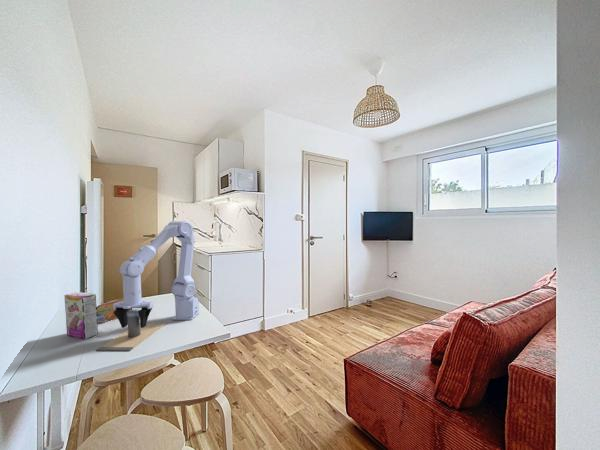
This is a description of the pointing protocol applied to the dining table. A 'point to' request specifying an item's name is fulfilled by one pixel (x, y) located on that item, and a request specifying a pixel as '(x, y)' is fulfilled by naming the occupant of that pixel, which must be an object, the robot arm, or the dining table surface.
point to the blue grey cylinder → (133, 323)
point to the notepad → (130, 339)
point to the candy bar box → (81, 315)
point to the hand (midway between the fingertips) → (134, 326)
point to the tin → (107, 311)
